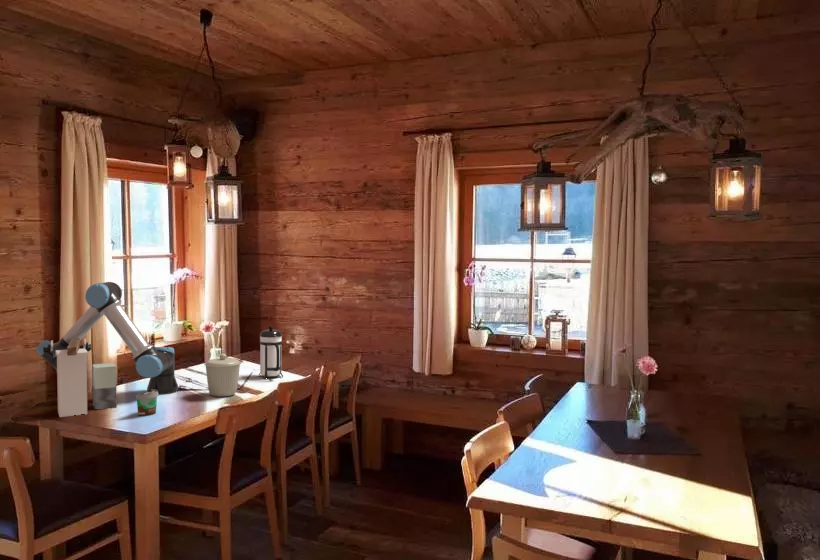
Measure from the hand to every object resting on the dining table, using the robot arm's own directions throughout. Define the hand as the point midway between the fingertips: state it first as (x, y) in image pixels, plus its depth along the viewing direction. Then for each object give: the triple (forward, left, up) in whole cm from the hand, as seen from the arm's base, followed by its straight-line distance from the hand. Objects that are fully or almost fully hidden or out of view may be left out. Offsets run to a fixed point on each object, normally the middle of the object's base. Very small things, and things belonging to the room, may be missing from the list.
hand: (68, 342), depth 306 cm
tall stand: (0, +10, -31) cm, 33 cm away
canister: (-69, +6, -31) cm, 76 cm away
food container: (-30, +28, -31) cm, 52 cm away
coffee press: (-106, -24, -31) cm, 113 cm away
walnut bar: (-2, +8, -3) cm, 9 cm away
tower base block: (-14, +4, -31) cm, 34 cm away
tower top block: (-14, +4, -21) cm, 26 cm away
